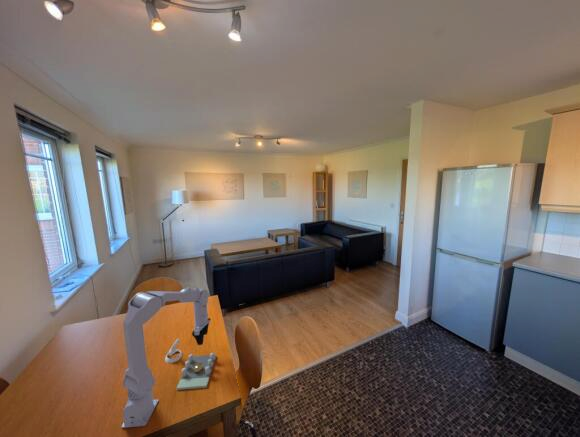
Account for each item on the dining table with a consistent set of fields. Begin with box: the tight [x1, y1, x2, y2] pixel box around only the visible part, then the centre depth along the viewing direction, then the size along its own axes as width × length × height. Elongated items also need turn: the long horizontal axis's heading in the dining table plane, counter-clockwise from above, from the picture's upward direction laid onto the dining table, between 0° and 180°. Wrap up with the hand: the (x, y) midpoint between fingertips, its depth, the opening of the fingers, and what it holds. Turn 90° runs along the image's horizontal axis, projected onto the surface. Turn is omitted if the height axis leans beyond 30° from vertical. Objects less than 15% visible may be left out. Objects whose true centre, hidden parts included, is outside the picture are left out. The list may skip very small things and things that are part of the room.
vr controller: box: [164, 338, 183, 364], centre depth 108 cm, size 8×12×7 cm
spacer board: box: [176, 352, 217, 391], centre depth 99 cm, size 17×12×4 cm
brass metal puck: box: [193, 362, 203, 374], centre depth 99 cm, size 4×4×2 cm
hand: (202, 339), depth 106 cm, fingers open, 7 cm apart
